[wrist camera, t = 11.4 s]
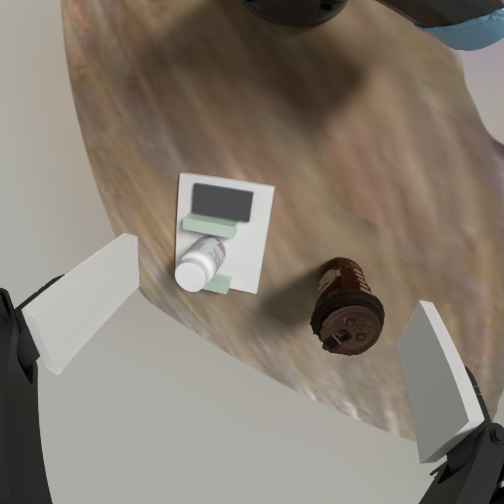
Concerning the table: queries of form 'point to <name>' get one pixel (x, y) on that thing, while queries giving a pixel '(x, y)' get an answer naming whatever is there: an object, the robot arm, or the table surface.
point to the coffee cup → (346, 309)
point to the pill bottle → (200, 263)
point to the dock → (242, 242)
